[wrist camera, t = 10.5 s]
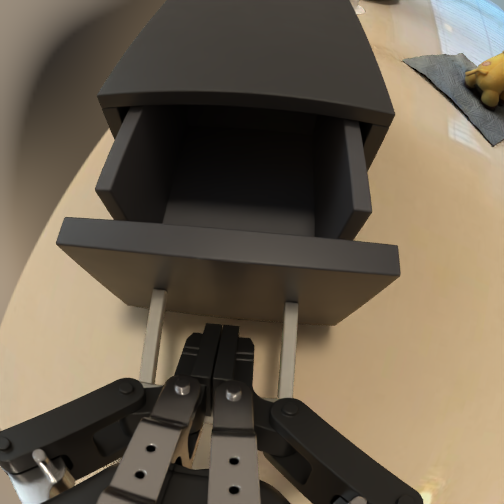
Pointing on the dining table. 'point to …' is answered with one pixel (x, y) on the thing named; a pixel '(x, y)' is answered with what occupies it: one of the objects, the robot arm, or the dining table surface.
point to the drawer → (234, 222)
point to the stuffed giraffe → (470, 88)
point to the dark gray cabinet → (254, 63)
